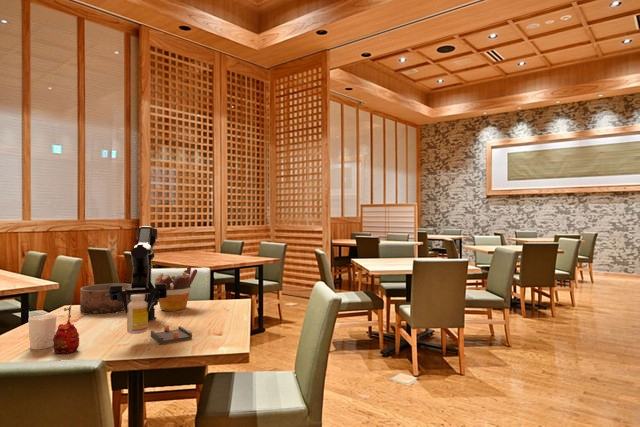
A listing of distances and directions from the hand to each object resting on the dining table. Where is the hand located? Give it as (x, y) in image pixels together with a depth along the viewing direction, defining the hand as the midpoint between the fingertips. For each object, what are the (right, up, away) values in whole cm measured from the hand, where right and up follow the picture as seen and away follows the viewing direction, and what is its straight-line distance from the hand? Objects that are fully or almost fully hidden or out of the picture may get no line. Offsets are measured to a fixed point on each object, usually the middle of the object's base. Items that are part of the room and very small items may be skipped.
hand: (137, 312), depth 144 cm
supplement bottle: (-1, -7, +1) cm, 7 cm away
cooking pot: (-38, -12, +55) cm, 68 cm away
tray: (+9, -11, +8) cm, 16 cm away
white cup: (-31, -11, -3) cm, 33 cm away
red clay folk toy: (-20, -11, -8) cm, 24 cm away
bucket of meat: (-7, -12, +57) cm, 58 cm away
